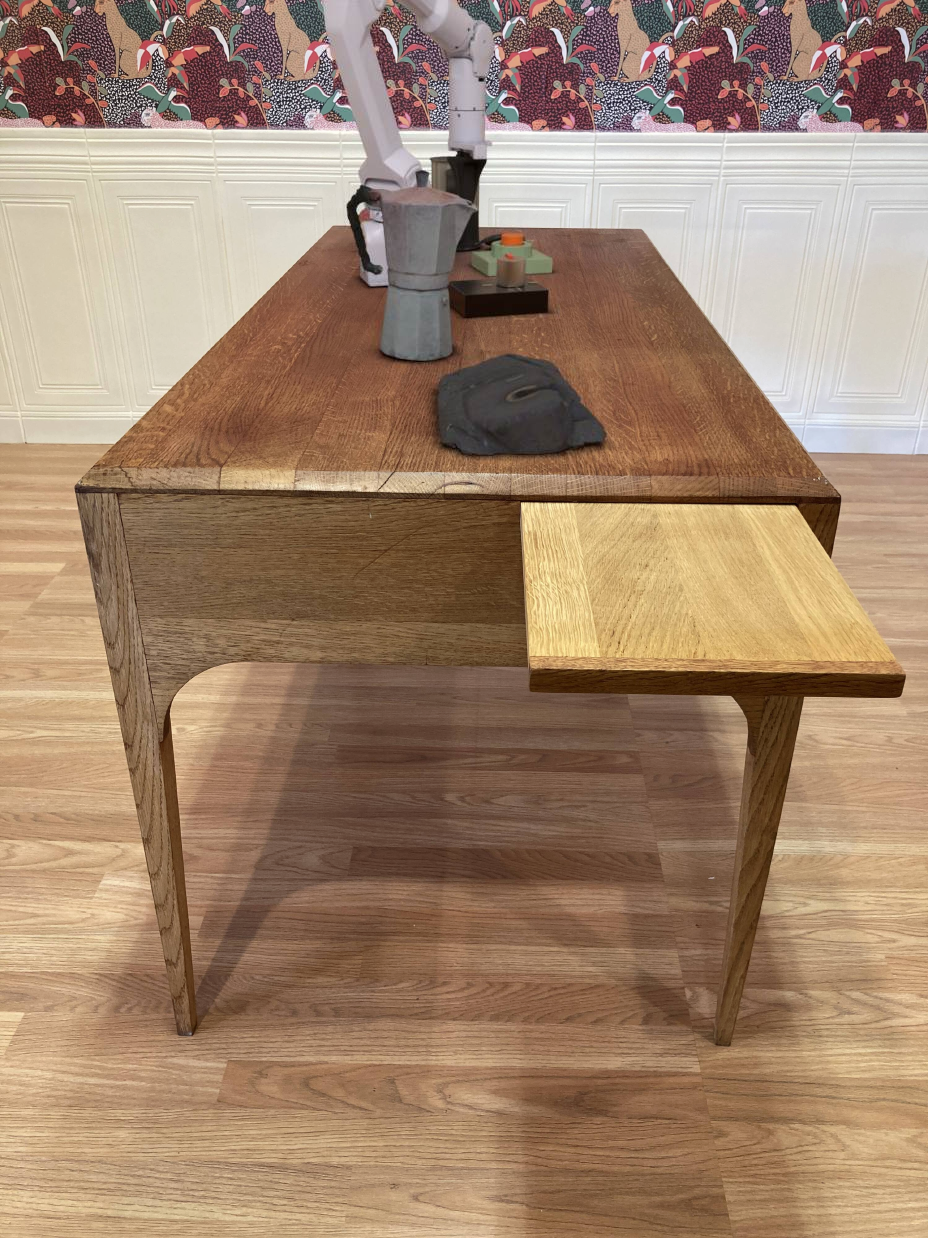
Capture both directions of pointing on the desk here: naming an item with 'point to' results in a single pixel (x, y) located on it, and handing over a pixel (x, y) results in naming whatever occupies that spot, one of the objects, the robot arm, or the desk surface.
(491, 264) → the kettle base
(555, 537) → the desk surface
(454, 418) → the slotted grey rock
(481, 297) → the panel
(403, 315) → the moka pot
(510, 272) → the temp dial
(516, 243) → the button
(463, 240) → the milk frother
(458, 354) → the desk surface
